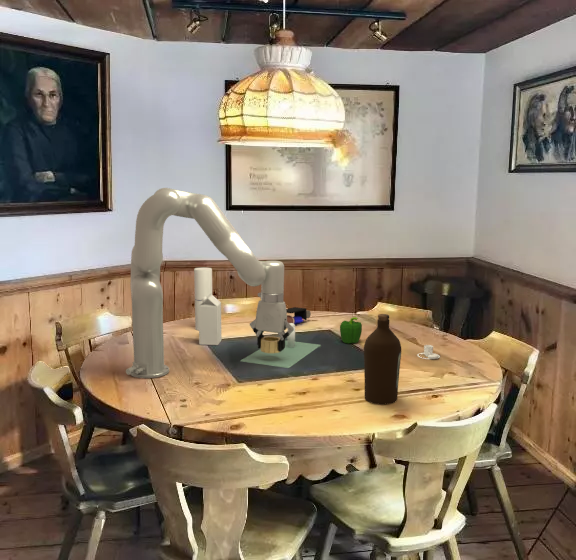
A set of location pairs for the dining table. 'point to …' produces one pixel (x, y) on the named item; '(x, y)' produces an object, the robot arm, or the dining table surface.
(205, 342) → the milk carton
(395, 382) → the olive oil
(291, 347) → the post board
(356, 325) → the bell pepper
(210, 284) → the cylindrical container
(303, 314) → the figurine character
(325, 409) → the dining table surface
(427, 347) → the white charger with cable
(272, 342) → the brass ring
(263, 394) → the dining table surface
